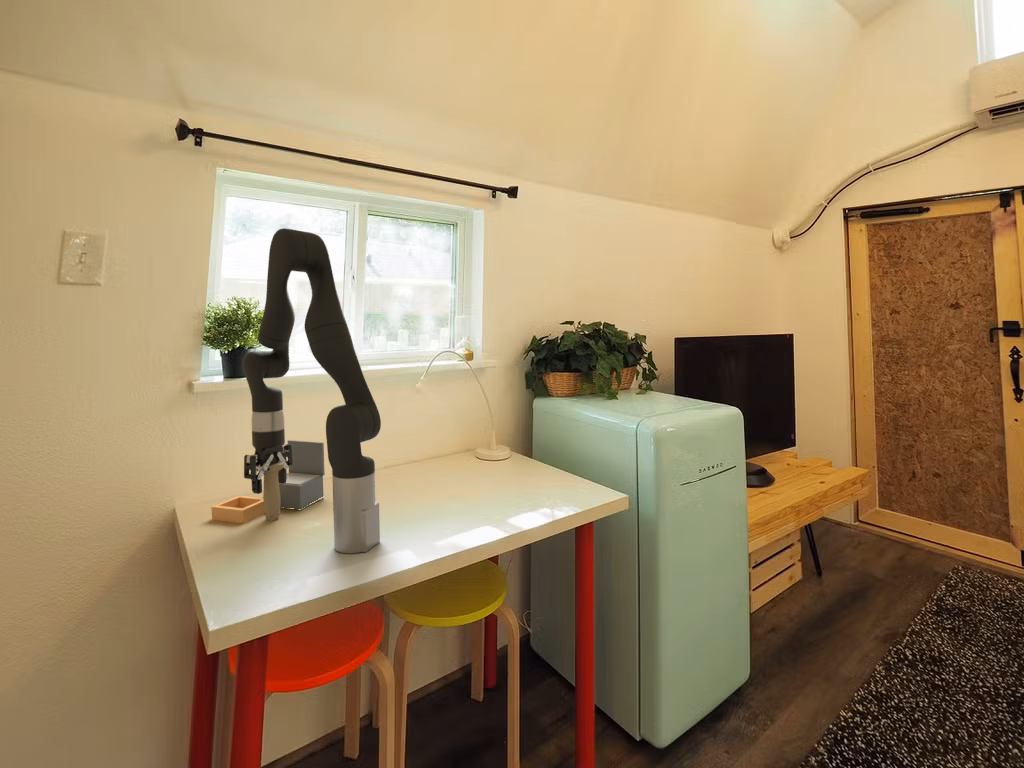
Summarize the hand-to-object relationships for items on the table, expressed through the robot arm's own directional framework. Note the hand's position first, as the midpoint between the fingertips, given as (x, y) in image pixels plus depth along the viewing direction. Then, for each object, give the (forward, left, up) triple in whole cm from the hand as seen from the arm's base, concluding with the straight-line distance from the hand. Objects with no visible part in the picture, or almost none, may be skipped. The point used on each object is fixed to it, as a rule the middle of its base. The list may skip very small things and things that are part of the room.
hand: (270, 487), depth 118 cm
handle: (0, 0, -9) cm, 9 cm away
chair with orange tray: (+6, -7, -8) cm, 12 cm away
